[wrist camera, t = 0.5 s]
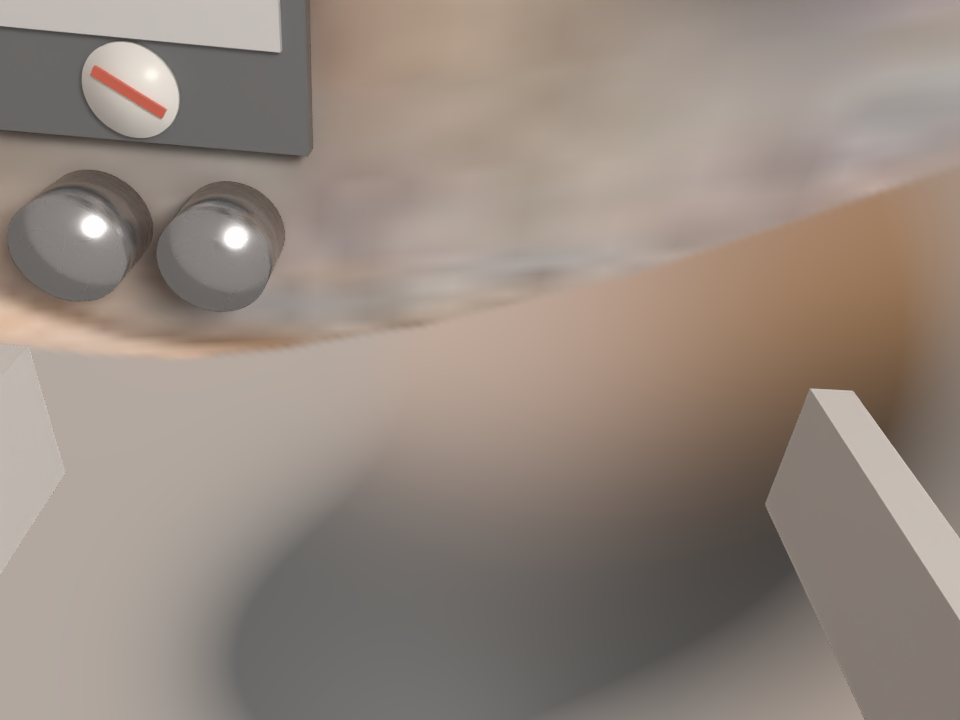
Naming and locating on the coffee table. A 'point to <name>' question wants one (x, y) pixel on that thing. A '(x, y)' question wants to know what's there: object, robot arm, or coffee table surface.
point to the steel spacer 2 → (221, 247)
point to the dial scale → (160, 71)
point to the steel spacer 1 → (80, 235)
